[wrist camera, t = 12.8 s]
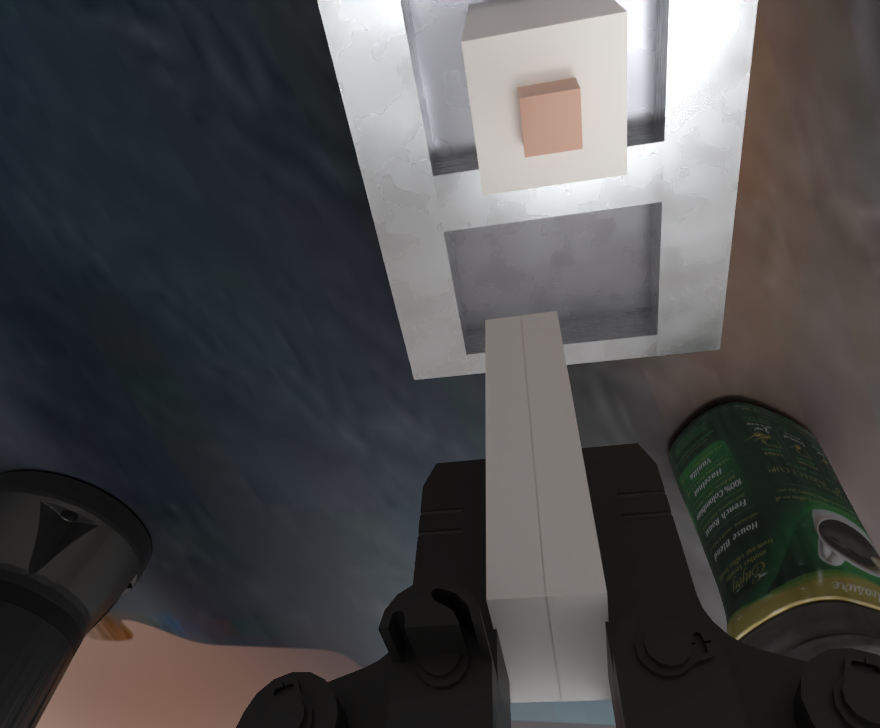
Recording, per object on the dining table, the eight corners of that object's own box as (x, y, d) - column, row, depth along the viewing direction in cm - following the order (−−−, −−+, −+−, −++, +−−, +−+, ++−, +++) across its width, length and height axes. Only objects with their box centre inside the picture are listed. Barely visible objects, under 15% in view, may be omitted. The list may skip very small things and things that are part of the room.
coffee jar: (647, 455, 45) (722, 727, 30) (722, 381, 41) (853, 657, 26) (751, 500, 47) (870, 775, 33) (834, 434, 43) (1015, 718, 28)
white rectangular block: (484, 127, 32) (482, 210, 23) (468, 4, 28) (459, 50, 20) (595, 109, 31) (634, 189, 22) (591, -19, 27) (635, 18, 19)
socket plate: (418, 351, 41) (414, 379, 39) (324, -40, 28) (308, -34, 26) (705, 321, 38) (719, 349, 36) (745, -130, 25) (772, -133, 23)
